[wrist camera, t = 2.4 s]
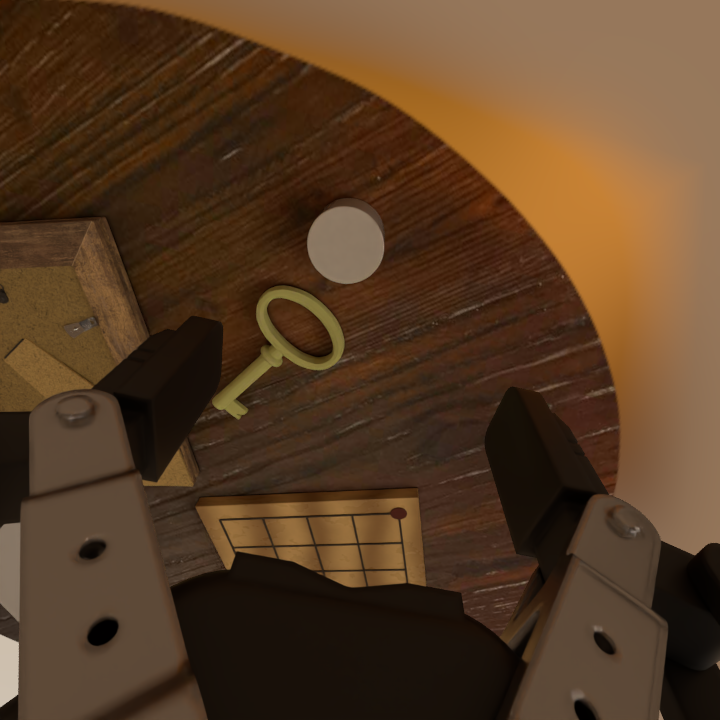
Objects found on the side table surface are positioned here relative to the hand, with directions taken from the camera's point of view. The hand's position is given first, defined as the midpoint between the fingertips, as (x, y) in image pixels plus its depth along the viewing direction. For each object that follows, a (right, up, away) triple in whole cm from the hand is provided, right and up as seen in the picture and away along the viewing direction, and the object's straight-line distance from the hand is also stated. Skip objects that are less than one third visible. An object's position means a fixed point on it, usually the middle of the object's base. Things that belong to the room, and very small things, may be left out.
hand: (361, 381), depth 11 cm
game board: (-4, -22, +34) cm, 40 cm away
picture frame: (-25, 0, +22) cm, 34 cm away
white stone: (-1, +9, +15) cm, 18 cm away
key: (-7, +2, +20) cm, 21 cm away
